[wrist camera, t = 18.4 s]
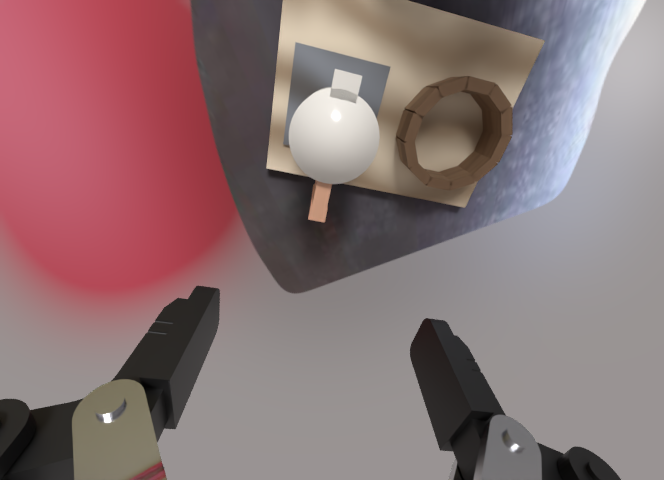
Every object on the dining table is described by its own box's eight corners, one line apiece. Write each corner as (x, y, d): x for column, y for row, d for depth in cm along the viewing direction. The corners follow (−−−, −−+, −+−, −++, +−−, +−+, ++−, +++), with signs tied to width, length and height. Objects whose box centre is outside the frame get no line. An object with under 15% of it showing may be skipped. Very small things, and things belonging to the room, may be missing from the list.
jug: (308, 66, 26) (298, 59, 17) (373, 84, 27) (396, 84, 18) (291, 178, 31) (277, 216, 22) (346, 190, 32) (353, 230, 23)
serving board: (288, -31, 24) (280, -55, 20) (536, 42, 27) (575, 34, 23) (268, 165, 32) (260, 177, 28) (460, 203, 35) (479, 219, 31)
